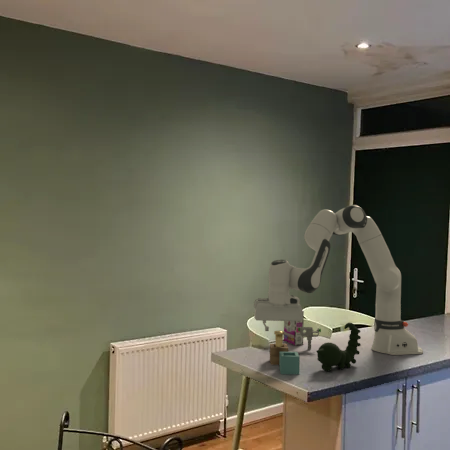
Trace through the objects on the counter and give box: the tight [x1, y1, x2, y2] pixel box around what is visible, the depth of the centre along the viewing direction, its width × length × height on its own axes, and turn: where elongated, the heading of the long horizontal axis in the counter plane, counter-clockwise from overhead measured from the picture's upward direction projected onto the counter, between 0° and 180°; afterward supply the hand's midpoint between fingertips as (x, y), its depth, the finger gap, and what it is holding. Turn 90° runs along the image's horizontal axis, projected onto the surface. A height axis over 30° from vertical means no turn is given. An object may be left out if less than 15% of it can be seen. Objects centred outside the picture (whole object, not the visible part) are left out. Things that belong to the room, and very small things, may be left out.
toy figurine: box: [315, 322, 362, 372], centre depth 218 cm, size 9×19×25 cm
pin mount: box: [269, 343, 289, 366], centre depth 226 cm, size 7×7×7 cm
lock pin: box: [274, 330, 284, 347], centre depth 226 cm, size 4×4×13 cm
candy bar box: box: [283, 310, 305, 346], centre depth 260 cm, size 11×5×16 cm, turn 23°
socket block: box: [278, 351, 301, 375], centre depth 213 cm, size 7×7×7 cm
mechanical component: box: [298, 326, 322, 351], centre depth 248 cm, size 3×10×10 cm, turn 78°
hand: (278, 331), depth 226 cm, fingers open, 8 cm apart
